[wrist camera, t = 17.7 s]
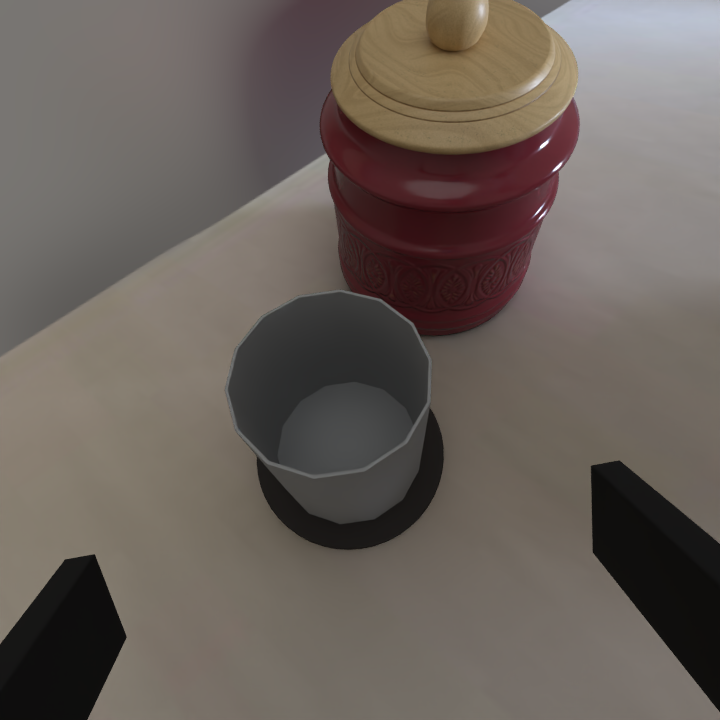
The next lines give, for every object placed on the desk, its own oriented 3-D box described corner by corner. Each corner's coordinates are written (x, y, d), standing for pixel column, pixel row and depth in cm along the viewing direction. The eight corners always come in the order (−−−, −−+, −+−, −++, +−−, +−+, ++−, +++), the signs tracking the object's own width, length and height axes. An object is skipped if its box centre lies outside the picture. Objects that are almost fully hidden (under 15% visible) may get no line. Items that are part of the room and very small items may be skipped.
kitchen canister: (318, 228, 37) (263, -53, 21) (471, 179, 38) (524, -117, 23) (379, 367, 31) (365, 119, 15) (558, 303, 32) (710, 17, 17)
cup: (323, 554, 26) (286, 523, 17) (253, 432, 29) (192, 354, 20) (449, 467, 27) (476, 397, 18) (369, 362, 31) (360, 261, 22)
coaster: (466, 401, 30) (467, 399, 29) (405, 583, 25) (405, 583, 25) (306, 347, 32) (305, 344, 32) (224, 503, 28) (222, 502, 27)
